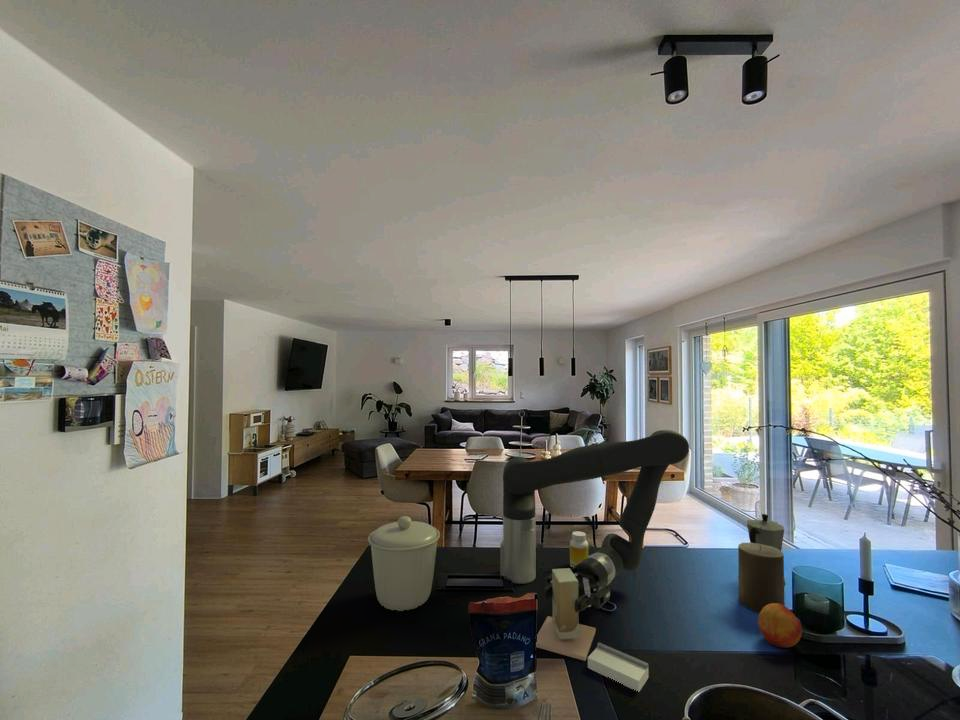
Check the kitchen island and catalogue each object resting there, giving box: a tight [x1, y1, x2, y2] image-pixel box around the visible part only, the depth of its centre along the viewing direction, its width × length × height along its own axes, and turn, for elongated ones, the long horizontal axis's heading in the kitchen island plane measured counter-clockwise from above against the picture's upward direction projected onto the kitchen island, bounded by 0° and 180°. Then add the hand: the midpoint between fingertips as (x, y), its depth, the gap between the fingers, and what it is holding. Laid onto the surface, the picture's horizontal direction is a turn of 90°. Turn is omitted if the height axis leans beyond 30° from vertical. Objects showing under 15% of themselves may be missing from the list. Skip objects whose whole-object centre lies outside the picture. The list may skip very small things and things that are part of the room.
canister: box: [367, 515, 441, 612], centre depth 109 cm, size 18×18×21 cm
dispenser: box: [587, 642, 650, 693], centre depth 83 cm, size 10×5×3 cm, turn 50°
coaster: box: [535, 615, 596, 662], centre depth 93 cm, size 11×11×1 cm
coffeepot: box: [746, 513, 786, 585], centre depth 121 cm, size 15×9×18 cm, turn 125°
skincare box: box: [551, 567, 580, 639], centre depth 94 cm, size 6×4×12 cm
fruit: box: [757, 603, 803, 649], centre depth 92 cm, size 8×8×8 cm
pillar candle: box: [737, 542, 786, 614], centre depth 108 cm, size 10×10×15 cm
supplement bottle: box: [569, 531, 589, 569], centre depth 129 cm, size 5×5×10 cm
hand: (560, 601), depth 92 cm, fingers closed on skincare box, 7 cm apart
